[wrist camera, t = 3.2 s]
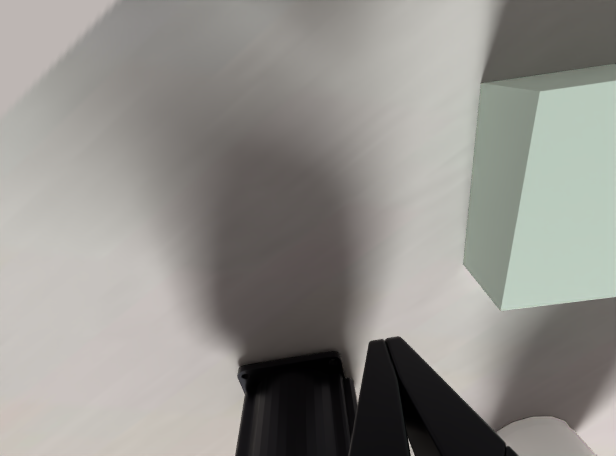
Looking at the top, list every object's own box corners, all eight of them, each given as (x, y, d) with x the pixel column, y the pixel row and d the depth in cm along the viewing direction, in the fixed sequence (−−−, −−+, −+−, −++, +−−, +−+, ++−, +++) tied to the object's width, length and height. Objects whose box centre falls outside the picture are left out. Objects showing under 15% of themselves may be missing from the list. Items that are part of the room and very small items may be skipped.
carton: (460, 260, 18) (500, 311, 14) (477, 82, 14) (539, 91, 10) (648, 236, 18) (737, 282, 14) (724, 46, 13) (877, 42, 10)
